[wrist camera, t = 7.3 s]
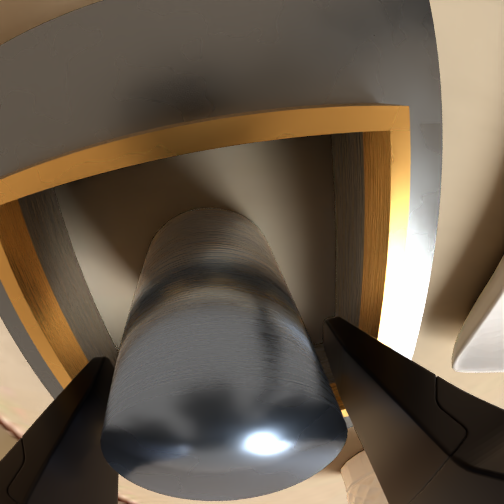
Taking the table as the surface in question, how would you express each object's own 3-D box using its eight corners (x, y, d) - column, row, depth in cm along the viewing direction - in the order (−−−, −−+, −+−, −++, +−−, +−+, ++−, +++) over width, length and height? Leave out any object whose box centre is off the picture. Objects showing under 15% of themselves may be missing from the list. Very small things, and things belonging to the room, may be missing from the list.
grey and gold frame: (388, 5, 8) (457, -17, 5) (377, 381, 17) (405, 432, 14) (-28, 87, 7) (-97, 96, 4) (113, 427, 16) (106, 483, 12)
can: (264, 195, 11) (360, 357, 4) (276, 305, 14) (337, 478, 6) (132, 220, 11) (52, 401, 4) (165, 324, 13) (154, 504, 6)
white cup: (391, 466, 25) (424, 540, 16) (322, 483, 24) (350, 569, 15) (428, 423, 22) (475, 509, 13) (351, 443, 21) (394, 551, 12)
